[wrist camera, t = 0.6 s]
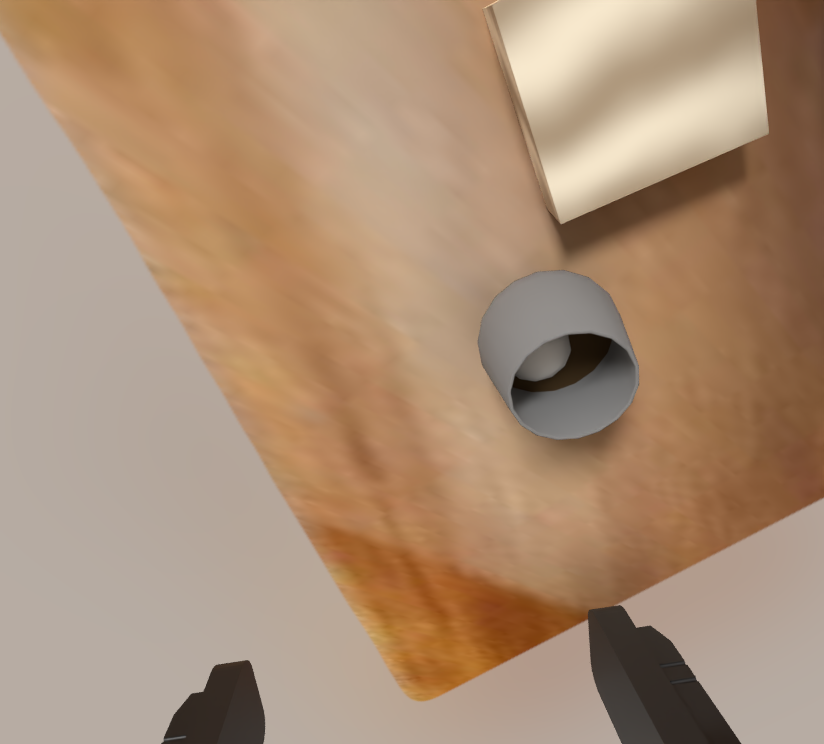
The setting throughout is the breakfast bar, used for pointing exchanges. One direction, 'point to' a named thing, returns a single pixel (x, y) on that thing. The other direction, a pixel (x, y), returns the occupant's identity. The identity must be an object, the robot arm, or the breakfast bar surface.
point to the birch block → (627, 90)
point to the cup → (559, 354)
